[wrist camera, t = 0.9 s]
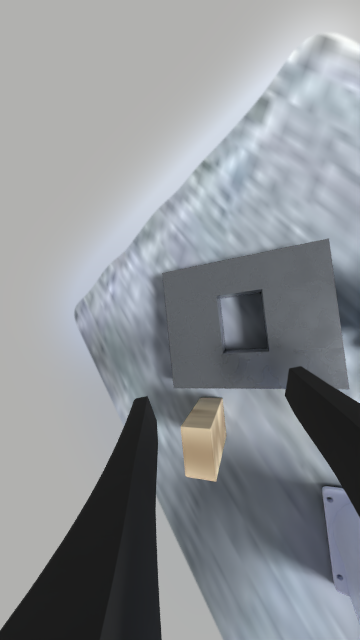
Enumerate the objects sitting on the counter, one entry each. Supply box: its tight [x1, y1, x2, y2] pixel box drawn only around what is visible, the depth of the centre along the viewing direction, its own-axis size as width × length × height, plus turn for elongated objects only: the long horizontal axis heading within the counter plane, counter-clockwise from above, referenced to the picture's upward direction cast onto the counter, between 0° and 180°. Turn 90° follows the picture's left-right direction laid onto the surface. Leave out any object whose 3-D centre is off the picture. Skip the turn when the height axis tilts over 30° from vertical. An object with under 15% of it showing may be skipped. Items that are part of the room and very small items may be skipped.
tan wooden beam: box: [181, 398, 226, 482], centre depth 20 cm, size 4×3×7 cm, turn 6°
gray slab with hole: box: [162, 239, 349, 389], centre depth 21 cm, size 13×16×2 cm
